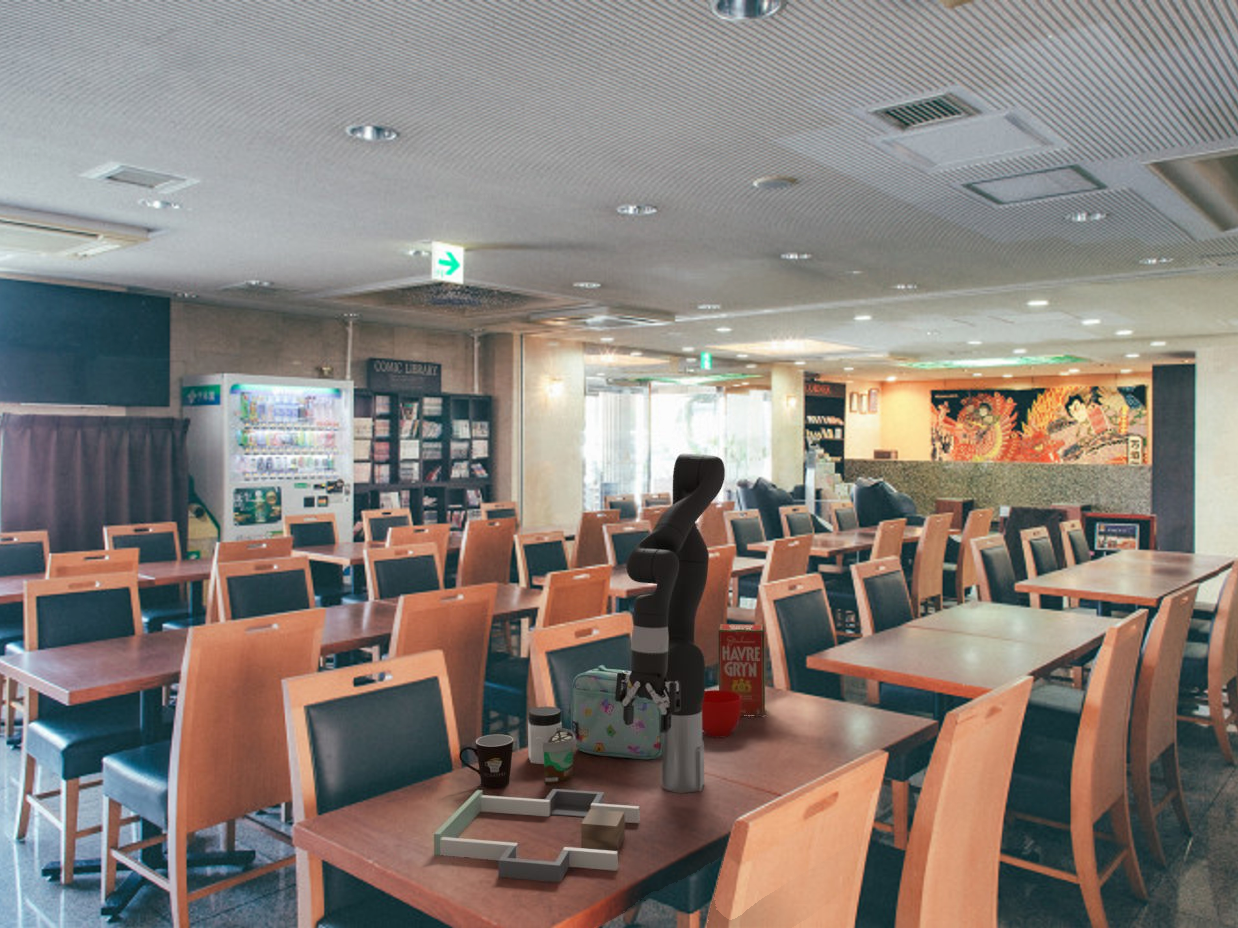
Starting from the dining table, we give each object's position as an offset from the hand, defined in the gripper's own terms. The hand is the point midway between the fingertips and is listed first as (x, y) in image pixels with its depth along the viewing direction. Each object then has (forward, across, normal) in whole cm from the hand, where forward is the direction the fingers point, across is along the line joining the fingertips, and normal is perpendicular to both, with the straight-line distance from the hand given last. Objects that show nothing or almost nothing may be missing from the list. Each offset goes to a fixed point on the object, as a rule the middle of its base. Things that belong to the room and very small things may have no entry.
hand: (646, 727), depth 180 cm
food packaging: (+17, +20, -84) cm, 88 cm away
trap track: (+21, +15, +15) cm, 30 cm away
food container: (+21, +31, -13) cm, 39 cm away
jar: (+20, +43, -21) cm, 52 cm away
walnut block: (+21, +3, +10) cm, 23 cm away
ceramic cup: (+18, +18, -62) cm, 67 cm away
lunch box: (+20, +30, -35) cm, 50 cm away
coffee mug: (+22, +43, -2) cm, 48 cm away
